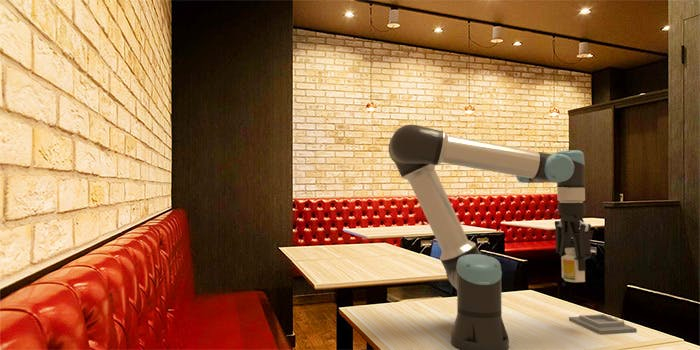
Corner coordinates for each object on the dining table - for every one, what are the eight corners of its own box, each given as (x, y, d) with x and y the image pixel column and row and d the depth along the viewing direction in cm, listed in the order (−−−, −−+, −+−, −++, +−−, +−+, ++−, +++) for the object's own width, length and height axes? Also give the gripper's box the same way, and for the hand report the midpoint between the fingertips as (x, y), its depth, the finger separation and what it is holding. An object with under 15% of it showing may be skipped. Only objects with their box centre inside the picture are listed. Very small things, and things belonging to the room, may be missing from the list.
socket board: (600, 334, 131) (600, 326, 131) (569, 320, 145) (568, 313, 145) (636, 332, 134) (636, 324, 134) (602, 318, 147) (602, 311, 147)
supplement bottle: (569, 278, 140) (569, 246, 140) (587, 281, 135) (586, 248, 135) (559, 280, 137) (558, 248, 137) (576, 283, 132) (576, 250, 132)
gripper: (604, 202, 128) (606, 285, 127) (563, 200, 146) (564, 273, 146) (580, 203, 127) (582, 286, 126) (542, 201, 145) (543, 274, 144)
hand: (573, 279), depth 136 cm, fingers closed on supplement bottle, 5 cm apart
